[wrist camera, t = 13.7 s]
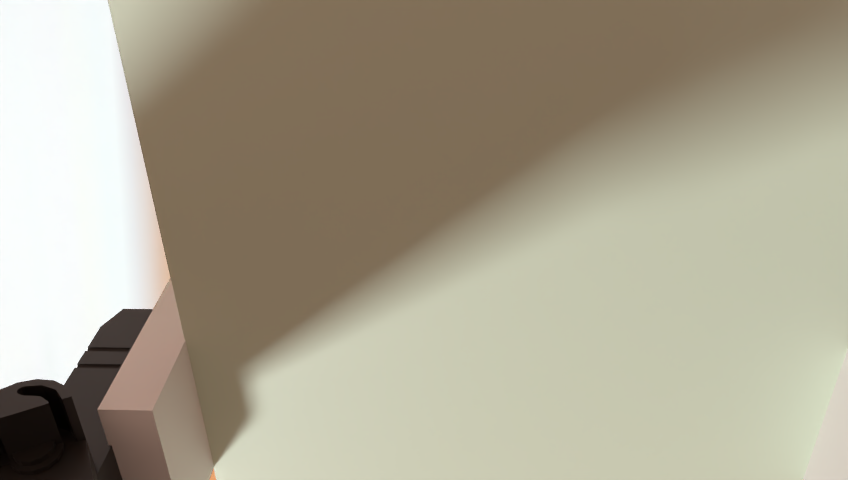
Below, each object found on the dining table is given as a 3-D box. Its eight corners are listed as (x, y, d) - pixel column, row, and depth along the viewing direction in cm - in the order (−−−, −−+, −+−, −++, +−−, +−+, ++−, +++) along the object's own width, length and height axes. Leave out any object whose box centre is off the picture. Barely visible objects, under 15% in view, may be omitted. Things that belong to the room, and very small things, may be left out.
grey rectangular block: (234, -118, 14) (97, -43, 9) (784, -126, 14) (984, -50, 8) (306, 432, 21) (256, 654, 16) (669, 438, 21) (738, 669, 16)
